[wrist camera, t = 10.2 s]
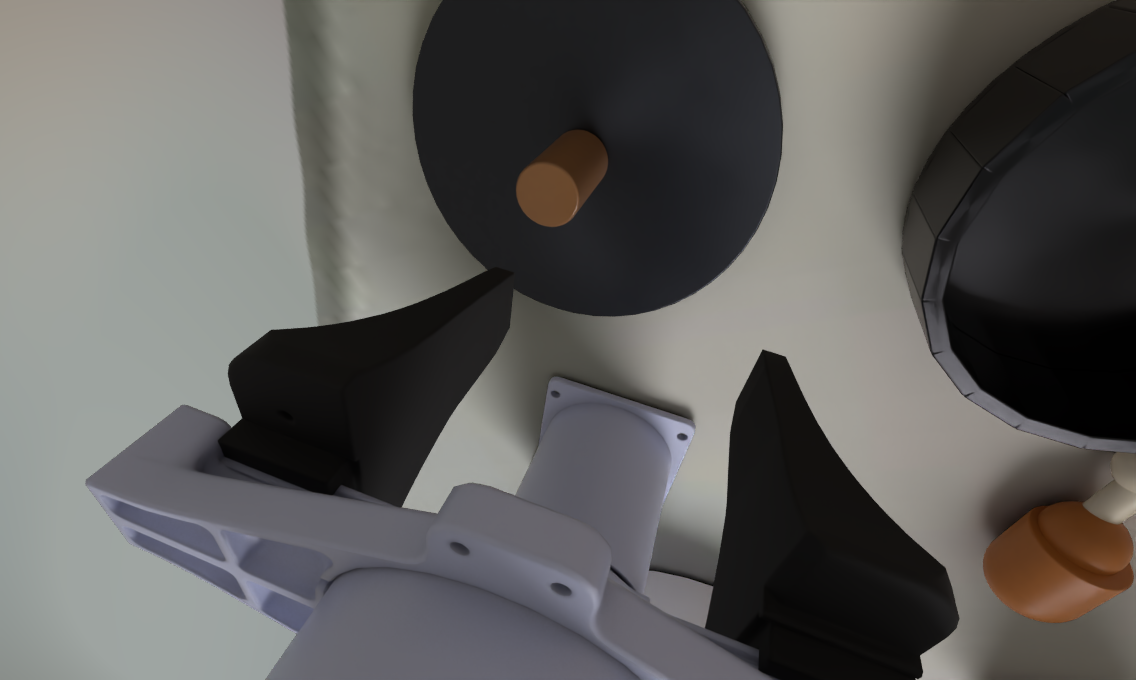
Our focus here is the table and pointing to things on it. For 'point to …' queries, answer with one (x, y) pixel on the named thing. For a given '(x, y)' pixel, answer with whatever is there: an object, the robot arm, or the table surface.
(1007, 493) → the table surface
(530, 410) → the table surface
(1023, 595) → the drumstick
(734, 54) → the pan lid
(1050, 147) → the pan
